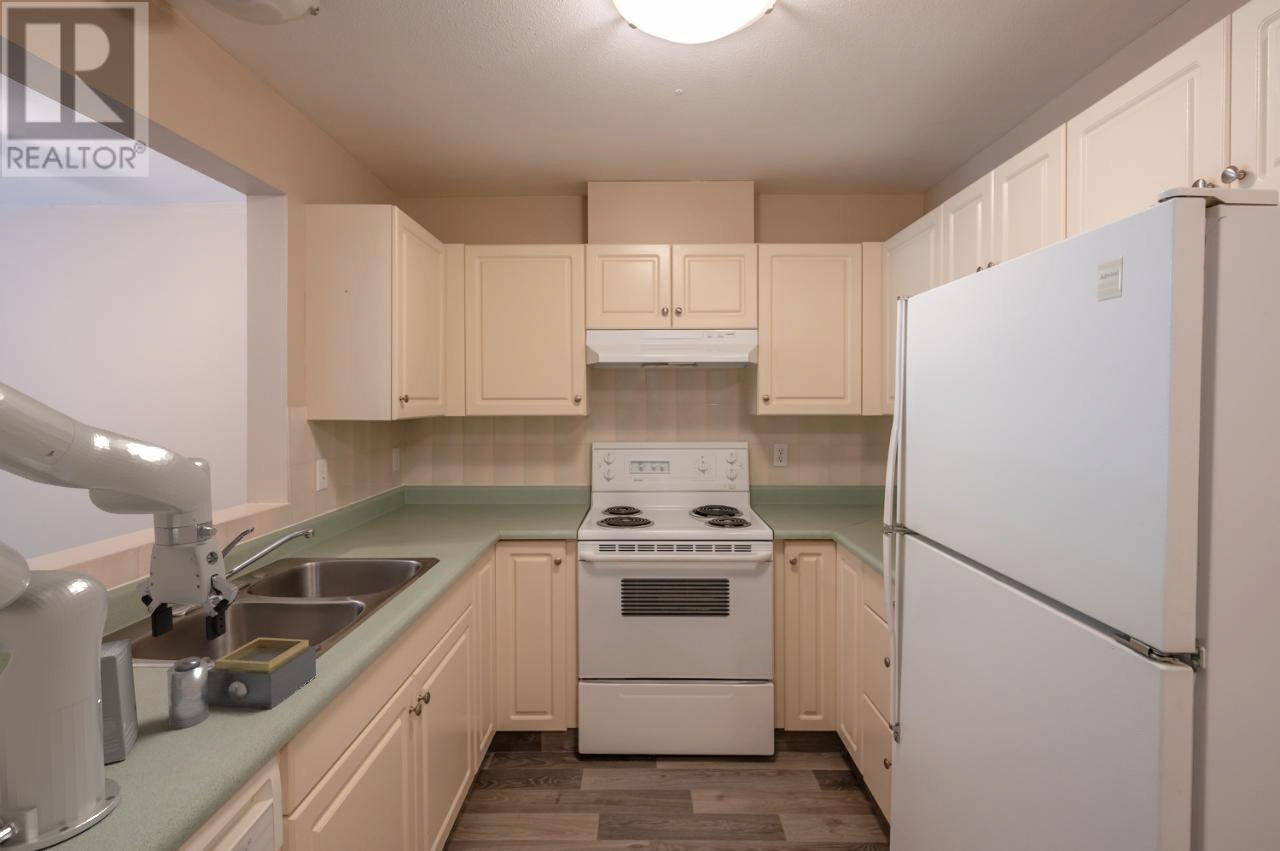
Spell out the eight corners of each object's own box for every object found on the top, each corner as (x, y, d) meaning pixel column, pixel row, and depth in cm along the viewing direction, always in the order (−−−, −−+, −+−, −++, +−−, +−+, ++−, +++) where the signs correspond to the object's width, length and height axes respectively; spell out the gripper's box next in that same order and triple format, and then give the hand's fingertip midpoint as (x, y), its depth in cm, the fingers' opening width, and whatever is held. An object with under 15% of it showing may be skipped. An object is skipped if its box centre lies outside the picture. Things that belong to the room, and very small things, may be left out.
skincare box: (126, 761, 85) (122, 655, 85) (60, 776, 82) (55, 666, 81) (141, 732, 93) (137, 634, 92) (80, 745, 89) (77, 643, 88)
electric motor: (189, 730, 93) (187, 669, 93) (160, 728, 94) (158, 667, 93) (222, 708, 100) (221, 651, 99) (195, 706, 100) (193, 650, 100)
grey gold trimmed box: (269, 710, 99) (268, 667, 99) (205, 706, 100) (204, 663, 100) (316, 677, 111) (315, 638, 111) (258, 673, 112) (257, 635, 112)
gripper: (250, 529, 98) (255, 628, 99) (157, 526, 100) (163, 623, 101) (213, 541, 90) (218, 648, 91) (113, 538, 92) (120, 642, 93)
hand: (189, 635), depth 96 cm, fingers open, 9 cm apart
